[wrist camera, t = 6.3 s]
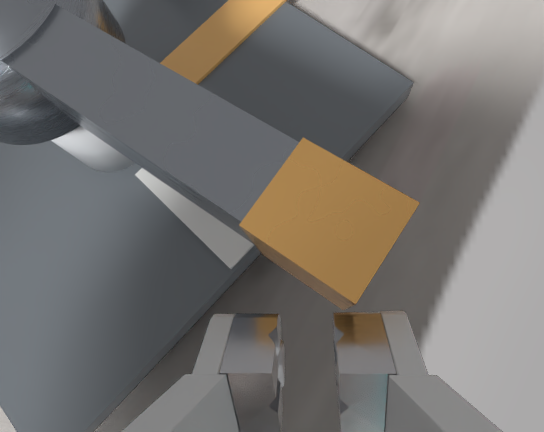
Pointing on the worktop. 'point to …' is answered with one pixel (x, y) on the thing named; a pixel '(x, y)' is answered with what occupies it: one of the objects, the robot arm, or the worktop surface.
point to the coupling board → (155, 206)
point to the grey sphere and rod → (195, 145)
